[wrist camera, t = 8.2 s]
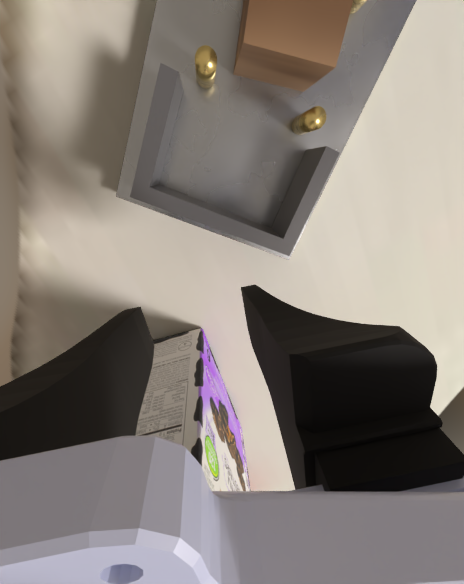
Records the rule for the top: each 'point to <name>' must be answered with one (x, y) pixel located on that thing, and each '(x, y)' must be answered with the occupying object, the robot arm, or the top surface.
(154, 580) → the robot arm
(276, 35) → the walnut block
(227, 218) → the housing
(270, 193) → the base plate
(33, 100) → the top surface
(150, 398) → the candy box
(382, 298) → the top surface
